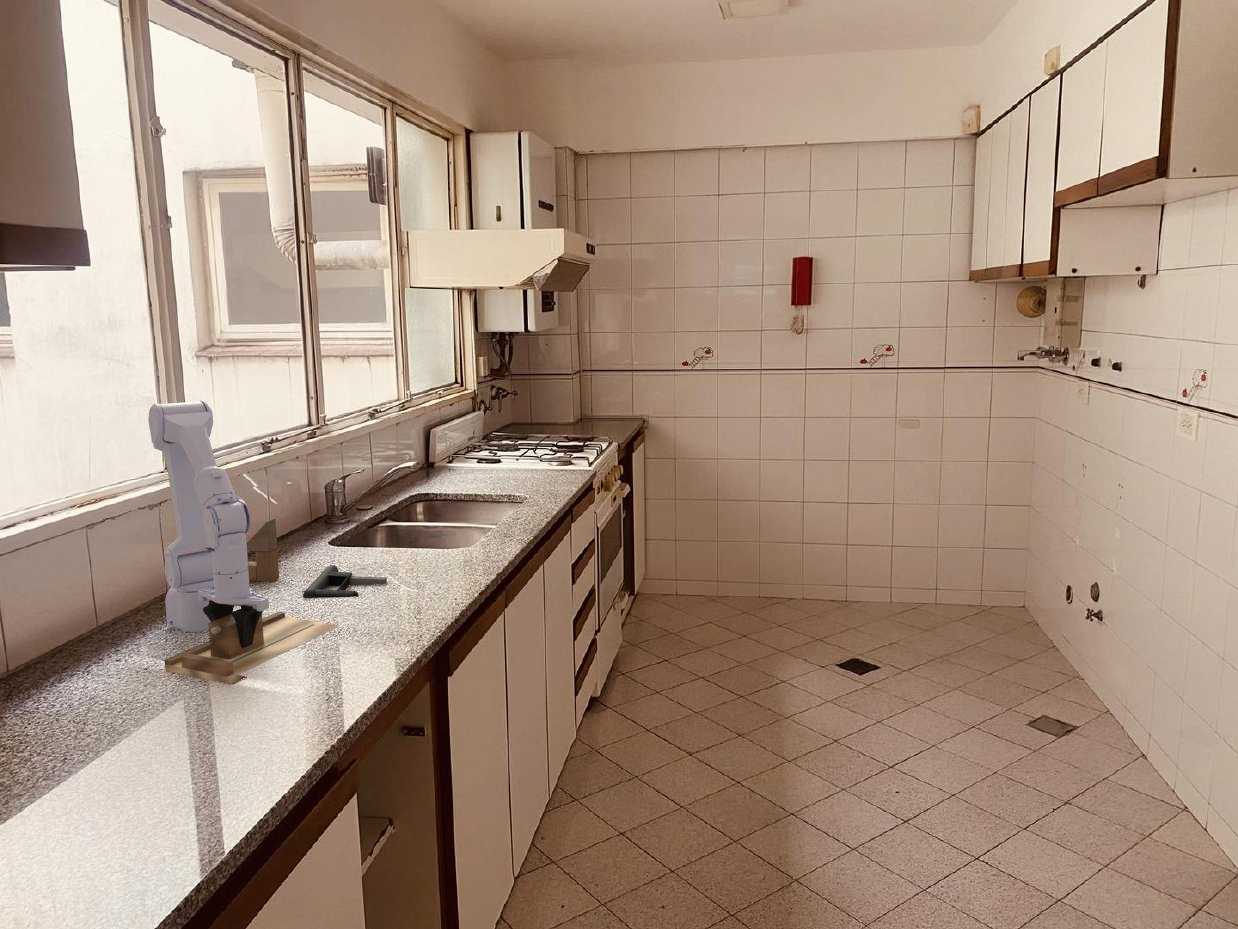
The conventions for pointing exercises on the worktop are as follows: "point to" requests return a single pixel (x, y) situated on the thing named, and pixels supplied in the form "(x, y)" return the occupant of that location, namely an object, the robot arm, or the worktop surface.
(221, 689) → the worktop surface
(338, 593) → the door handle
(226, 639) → the block with white pegs
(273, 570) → the wooden block
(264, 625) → the board
